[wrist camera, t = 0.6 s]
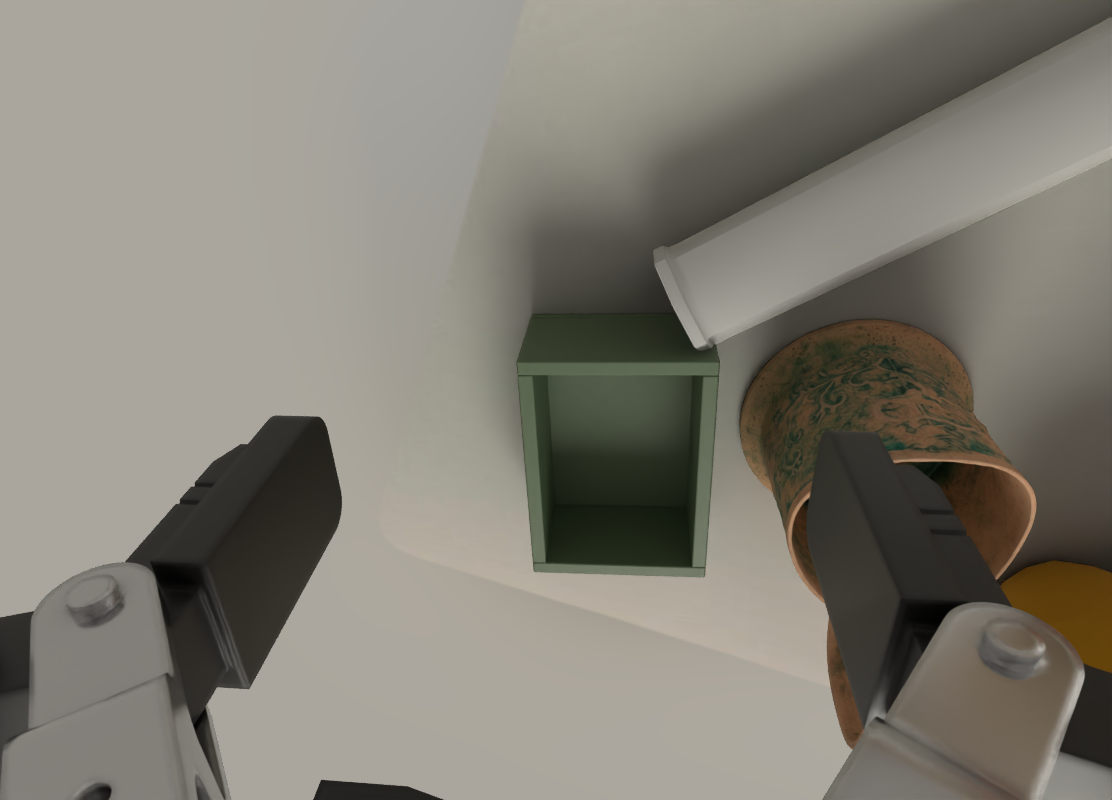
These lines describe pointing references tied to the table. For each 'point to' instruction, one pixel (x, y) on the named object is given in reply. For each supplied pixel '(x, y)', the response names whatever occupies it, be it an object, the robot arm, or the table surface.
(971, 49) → the table surface
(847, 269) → the tube
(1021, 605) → the apple
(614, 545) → the bin
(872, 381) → the mug
